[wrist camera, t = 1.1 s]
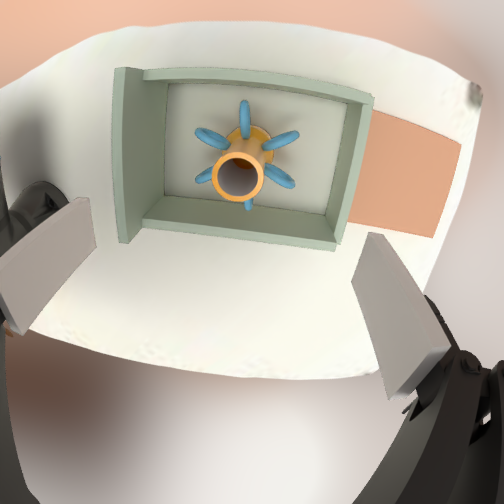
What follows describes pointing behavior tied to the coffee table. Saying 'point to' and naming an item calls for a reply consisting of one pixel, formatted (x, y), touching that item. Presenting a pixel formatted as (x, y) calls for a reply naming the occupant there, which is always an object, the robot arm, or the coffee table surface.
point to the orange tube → (244, 160)
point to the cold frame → (210, 211)
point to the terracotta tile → (403, 177)
